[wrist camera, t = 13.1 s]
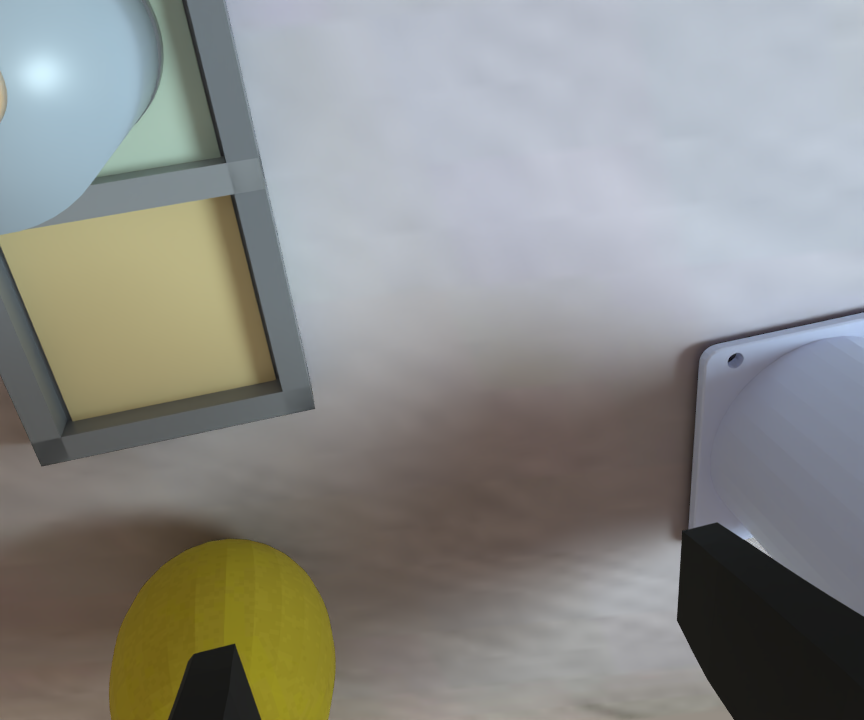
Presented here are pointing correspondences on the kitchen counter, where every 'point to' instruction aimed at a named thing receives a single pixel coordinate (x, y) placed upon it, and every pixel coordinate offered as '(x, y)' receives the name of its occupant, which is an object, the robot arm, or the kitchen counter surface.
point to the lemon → (226, 632)
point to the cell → (68, 97)
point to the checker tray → (157, 274)
